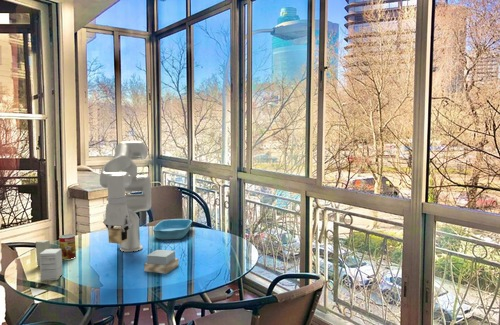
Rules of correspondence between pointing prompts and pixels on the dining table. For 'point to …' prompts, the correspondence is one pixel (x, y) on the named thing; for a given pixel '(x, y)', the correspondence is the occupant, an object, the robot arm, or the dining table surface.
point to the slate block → (161, 257)
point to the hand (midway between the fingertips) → (118, 238)
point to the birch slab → (161, 267)
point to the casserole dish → (172, 228)
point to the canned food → (67, 246)
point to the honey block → (116, 235)
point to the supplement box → (51, 264)
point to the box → (41, 248)
